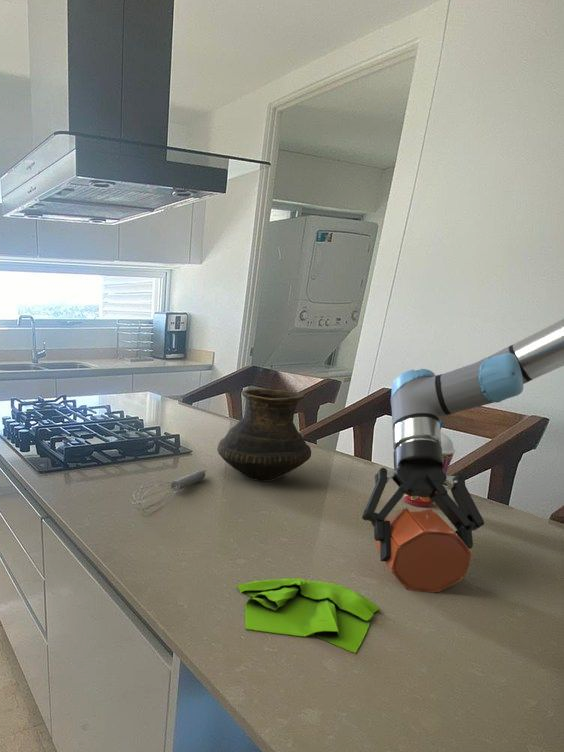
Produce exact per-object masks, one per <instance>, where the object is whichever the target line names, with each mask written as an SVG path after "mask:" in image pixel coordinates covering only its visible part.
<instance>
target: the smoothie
mask: <svg viewBox="0 0 564 752" xmlns="http://www.w3.org/2000/svg"><path fill="white" fill-rule="evenodd" d="M439 421H440V431H441V430H442V427H443V423H444V420H441V419H439ZM441 447H442V456H443V471H444V473H445V474H446V475H447V472H448V470H449V467H450V464H451V462H452V460H453V458H454V457H453V456H454V455H455V452H456V449H454V444H453V441H452V439H451V438H450V437H449V436H448V435H447V434H445V433H443V432H441ZM435 493H436V494H437V491H436V492H435ZM403 497H404V502H406V503H407V504H409V505H411V506H415V507H421V508H427V507H431V506H432V505H433V503H434V502H432V501H431V500H430V498H429V497H427V498H426V497H420V496H408V495H407V494H404V495H403Z"/></svg>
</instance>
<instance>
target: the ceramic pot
mask: <svg viewBox="0 0 564 752" xmlns="http://www.w3.org/2000/svg"><path fill="white" fill-rule="evenodd" d="M241 395H242V396H243V397H244V398H245V412H244V416H243V417H242V418H241V419H240V420H239V421H238V422H236V424H235V425H234V426H232V427H231V428H230V429H229V430H228V431H227V433H226V435H225V436H224V437H223V438H221V439H220V440H219V442H218V443H217V449H216V451H217V453H218V455H219V456H220V457H221V458H222V459H223V461H224V462H226V463H227V464H228V465H229V466H230V467H232V468H233V469H235V470H236V471H237V472H239V473H240V474H242V475H244V476H245V477H246V478H248V479H251V480H254V481H259V482H260V481H261V482H263V481H265V482H270V481H274V480H277V479H278V478H281V477H283V476H284V475H286V474H289V473H291V472H292V471H294V470H296V469H297V468H299V467H301V466H302V465H304V464H305V463H306V462H308V460H310V459H311V457H312V450H311V447H310V445H308V444H307V442H306V440H305V438H304V436H303V435H302V434H301V433H300V432H299V431H298V429H297V427H296V425H295V422H294V419H295V411H296V409H297V406H298V402H300V401H301V400H302V399H304V398H305V394H303V393H301V392H298V391H289V390H282V389H269V388H268V389H267V388H248V389H245V390H243V391H241Z"/></svg>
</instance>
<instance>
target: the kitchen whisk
mask: <svg viewBox="0 0 564 752" xmlns="http://www.w3.org/2000/svg"><path fill="white" fill-rule="evenodd" d="M206 472H207V470H205V469H204V470H201V469H200V470H196V471H193V472H191V473H189V474H187V475H184V476H182V477H180V478H177V479H175V480H172V482H171V481H170V482H169V481H167V482H164V480H163V481H161V480H159V481H158V480H157V481H155V483H160V484H156V485H150V486H149V485H148V486H145V485H147V484H151V483H152V484H153V481H150V482H147V483H144V484H143V485H141V487H140V488H139V489H136V490H135V491H134V492H133V494H132V497H133V499H134V501H132V504H135V503H136V504H137V507H136V510H138V511H140V509H142V510H141V511H143V512H144V513H148V512H149V511H146V510H145V509H144V508H146V507H147V508H149V509H157V508H159V507H160V506H161V507H162V506H164V505H165V504H167V503H168V502H169V501H170V500H171V499H172V498H173V496H174V495H175V493H177V492H179V491H181V490H183V489H185V488H188V487H190V486H192V485H194V484H196V483H198V482H200V481H203V480H204V479H205V477H206ZM163 485H167V486H170V487H168V488H165V489H162V490H159V491H157V492H154V493H151V494H148V495H146V494H147V493H148V492H149V491H151V490H152V489H153V488H155V487H158V486H161V487H162V486H163ZM146 488H149V489H148V490H147V491H146V492H145V493H144V494H142V496H141V498H139V497H137V499H136V498H135V493H137V492H138V493H137V496H139V494H140V491H141V490H143V489H146ZM169 489H170V490H169ZM166 490H169V491H167V492H165V493H163V494H160V495H158V496H155V497H152V498H150V499H146V500H143V499H144V498H146V497H150V496H152V495H156V494H157V493H160V492H163V491H166ZM172 491H173V492H172ZM171 492H172V493H171ZM169 493H171V495H170V496H169V497H168V498H167V499H166V500H165V501H166V502H165V501H164V502H165V503H164V502H163V503H164V504H163V503H162V504H163V505H162V504H161V505H158V506H149V507H148V506H147V505H144V504H142V503H144V502H148V501H152V500H154V499H157V498H159V497H160V498H159V499H160V500H161V499H162V498H164V497H165V496H167V495H168V494H169ZM142 500H143V501H142ZM139 506H140V509H139ZM142 506H143V507H144V508H142ZM161 507H160V508H161Z"/></svg>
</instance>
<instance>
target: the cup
mask: <svg viewBox="0 0 564 752" xmlns="http://www.w3.org/2000/svg"><path fill="white" fill-rule="evenodd" d="M385 520H386V521H390V532H391V558H389V559H388V560H387V561H384V562H385V563H386V565H387V566H388V569H389V570H390V572H391V573H392V575H393V576H394V577H395V578H396V579H397V581H399V583H400V584H401V585H402V586H403V588H405V589H407V590H408V591H417V592H423V593H425V592H426V593H434V594H435V593H436V592H437V593H440V592H441V591H444V590H445V589H447V588H449V587H451V586H453V585H455V584H456V583H459V582H461V581H462V580H463V579H464V578H465V577H466V574H467V572H468V569H469V566H470V563H471V560H472V558H473V551H471V550H470V549H469V548H468V547H467V546H466V545H465V543H464V542H463V541H462V540H461V538H460V537H459V536H458V535H457V534H456V533H455V530H454V529H453V528H452V527H451V526H450V525H449V524H448V523H447V522H446V521H445V520H444V519H443V518H442V517H441V516H440V515H439V514H438V513H437V512H436V511H435V510H433V509H432V508H431V509H430V508H418V507H407V506H406V507H405V508H404V507H402V508H400V509H399V510H397V511H395V512H394V513H393V514H391V515H388V516H387V517H386V518H385V519H384V521H385ZM374 544H375V547H376V549H377V551H378V552H379V553H380V541H375V540H374Z"/></svg>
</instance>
